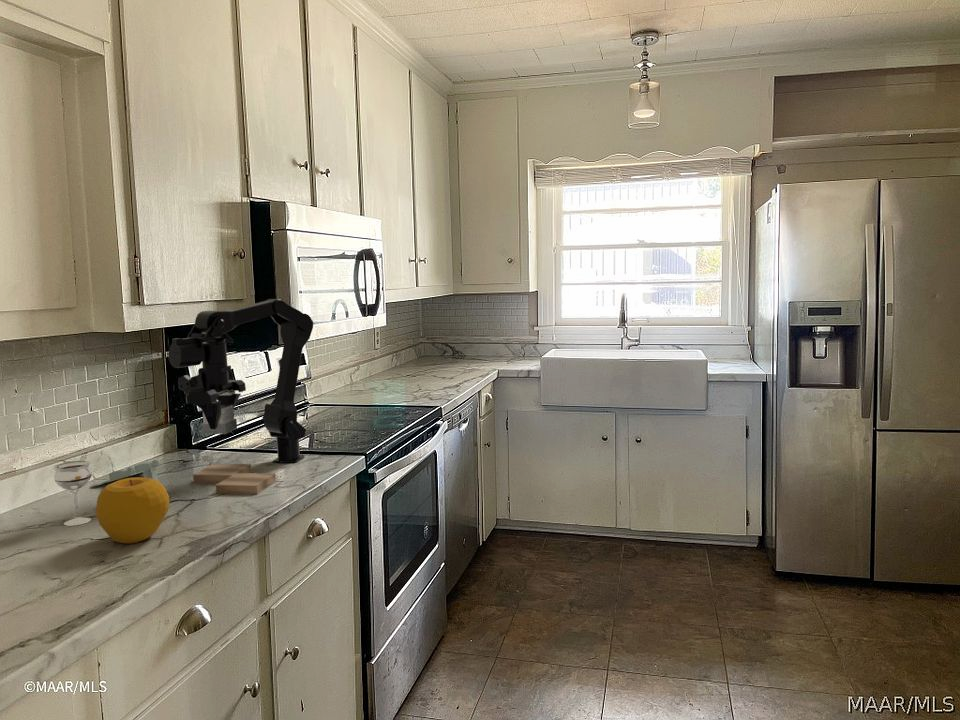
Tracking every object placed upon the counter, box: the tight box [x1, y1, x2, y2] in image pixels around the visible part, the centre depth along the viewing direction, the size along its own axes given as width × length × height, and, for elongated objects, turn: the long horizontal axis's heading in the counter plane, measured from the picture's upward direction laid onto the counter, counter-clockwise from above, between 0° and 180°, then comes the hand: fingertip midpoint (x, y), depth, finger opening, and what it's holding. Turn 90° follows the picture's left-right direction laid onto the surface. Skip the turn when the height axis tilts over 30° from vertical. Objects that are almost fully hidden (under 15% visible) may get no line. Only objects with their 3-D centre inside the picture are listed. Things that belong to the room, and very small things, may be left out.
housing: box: [201, 405, 238, 435], centre depth 182 cm, size 6×6×6 cm
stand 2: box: [215, 472, 277, 495], centre depth 175 cm, size 10×10×2 cm
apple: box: [95, 476, 171, 545], centre depth 143 cm, size 13×13×11 cm
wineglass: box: [53, 460, 92, 527], centre depth 154 cm, size 7×7×12 cm
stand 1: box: [192, 463, 252, 484], centre depth 184 cm, size 10×10×2 cm
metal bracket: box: [90, 458, 168, 488], centre depth 184 cm, size 14×6×15 cm
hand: (219, 426), depth 183 cm, fingers closed on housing, 6 cm apart
